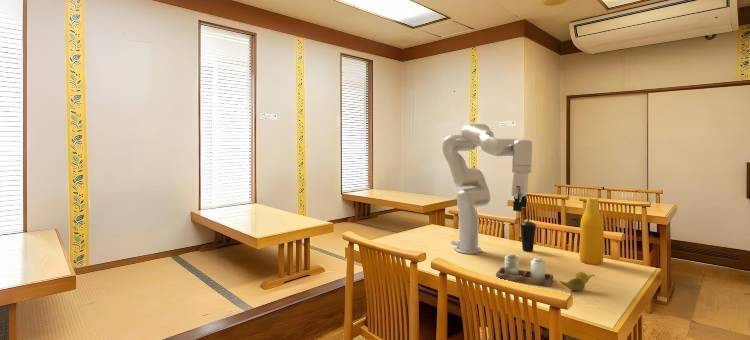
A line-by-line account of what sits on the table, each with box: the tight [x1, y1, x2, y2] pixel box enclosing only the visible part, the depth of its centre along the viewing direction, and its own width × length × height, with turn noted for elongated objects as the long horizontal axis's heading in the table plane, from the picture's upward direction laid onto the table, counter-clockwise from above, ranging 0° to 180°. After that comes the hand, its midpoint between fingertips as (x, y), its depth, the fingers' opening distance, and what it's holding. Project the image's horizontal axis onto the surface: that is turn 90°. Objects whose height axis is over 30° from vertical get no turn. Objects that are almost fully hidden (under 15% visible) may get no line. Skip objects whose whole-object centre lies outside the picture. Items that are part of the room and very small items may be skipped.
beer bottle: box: [579, 197, 605, 266], centre depth 174 cm, size 9×9×29 cm
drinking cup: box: [519, 210, 537, 253], centre depth 194 cm, size 8×8×20 cm
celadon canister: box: [530, 257, 546, 280], centre depth 152 cm, size 5×5×9 cm
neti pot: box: [559, 271, 596, 291], centre depth 142 cm, size 4×15×6 cm, turn 104°
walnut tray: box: [495, 253, 554, 288], centre depth 154 cm, size 20×9×9 cm, turn 59°
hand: (519, 208), depth 165 cm, fingers open, 9 cm apart
